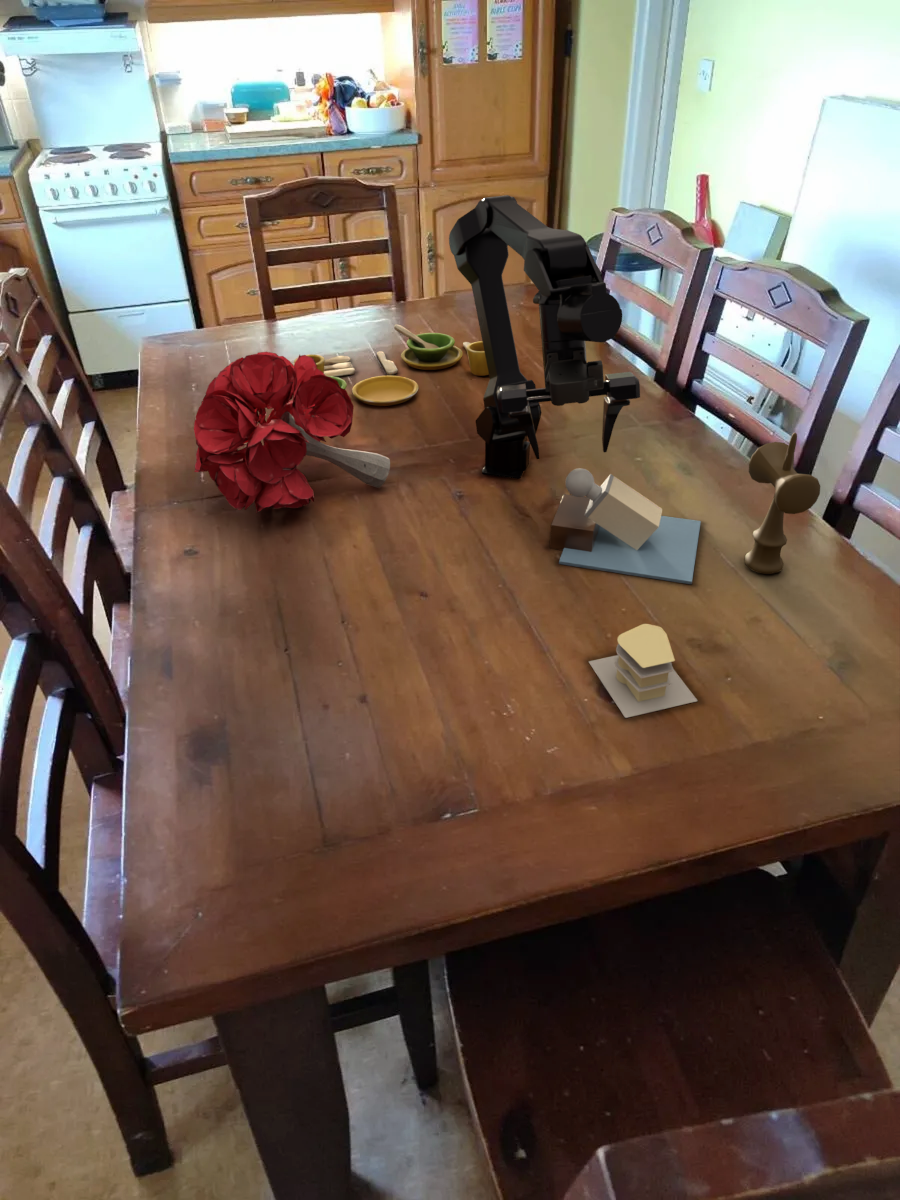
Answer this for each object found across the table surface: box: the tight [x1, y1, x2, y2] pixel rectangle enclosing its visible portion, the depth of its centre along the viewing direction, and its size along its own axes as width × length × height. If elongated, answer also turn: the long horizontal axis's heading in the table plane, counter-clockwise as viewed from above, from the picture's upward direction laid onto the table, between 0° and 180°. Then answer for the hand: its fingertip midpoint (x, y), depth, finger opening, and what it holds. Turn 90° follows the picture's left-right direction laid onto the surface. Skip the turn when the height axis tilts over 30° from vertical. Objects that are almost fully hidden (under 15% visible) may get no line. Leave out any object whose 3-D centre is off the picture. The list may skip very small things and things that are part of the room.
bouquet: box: [193, 351, 391, 513], centre depth 129 cm, size 22×24×30 cm
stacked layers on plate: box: [588, 623, 699, 719], centre depth 98 cm, size 10×9×6 cm
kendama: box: [744, 432, 821, 575], centre depth 112 cm, size 6×10×20 cm, turn 6°
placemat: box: [558, 515, 702, 585], centre depth 123 cm, size 18×16×1 cm
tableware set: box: [292, 324, 489, 407], centre depth 171 cm, size 41×28×6 cm
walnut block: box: [549, 493, 600, 552], centre depth 124 cm, size 6×9×4 cm, turn 163°
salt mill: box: [565, 467, 663, 550], centre depth 120 cm, size 14×5×10 cm, turn 73°
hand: (571, 455), depth 119 cm, fingers open, 9 cm apart
